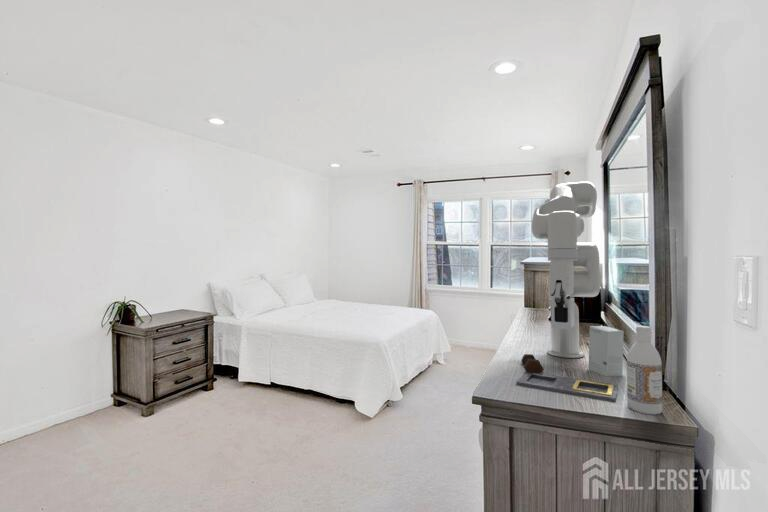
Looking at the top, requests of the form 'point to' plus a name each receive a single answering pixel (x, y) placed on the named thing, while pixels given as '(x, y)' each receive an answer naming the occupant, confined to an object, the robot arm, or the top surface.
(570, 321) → the brushed steel block
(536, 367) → the bolt
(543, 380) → the grey slotted board
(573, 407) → the top surface
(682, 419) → the top surface
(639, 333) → the bath foam
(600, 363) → the skincare box
